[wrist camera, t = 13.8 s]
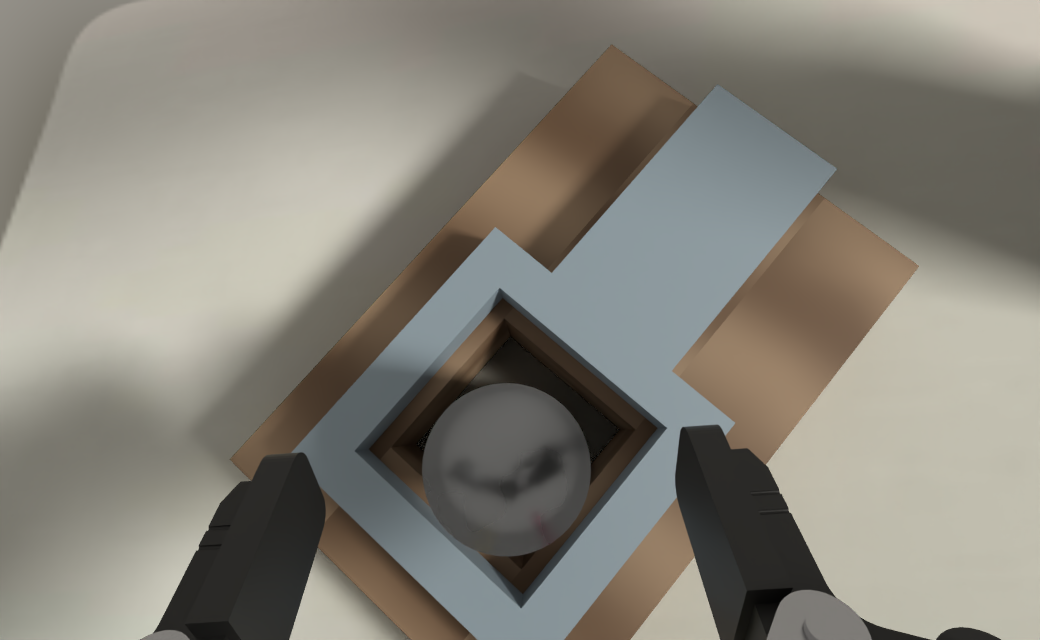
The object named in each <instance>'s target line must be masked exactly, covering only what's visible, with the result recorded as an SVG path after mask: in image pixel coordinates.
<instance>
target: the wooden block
mask: <svg viewBox="0 0 1040 640" xmlns="http://www.w3.org/2000/svg"><path fill="white" fill-rule="evenodd" d="M697 107H698V106H696V105H695V104H694V103H692V102H691V101H689V100H688V99H687V98H685V97H684V96H683V95H681V94H680V93H678V92H677V91H676V90H674V89H673V88H671V87H670V86H669V85H667V84H666V83H664V82H663V81H662V80H660V79H659V78H658V77H656V76H655V75H653V74H652V73H651V72H649V71H648V70H646V69H645V68H644V67H642V66H641V65H640V64H638V63H637V62H635V61H634V60H633V59H631V58H630V57H628V56H627V55H626V54H624V53H623V52H621V51H620V50H619V49H617V48H616V47H615V46H613V45H611V46H610V47H609V48H608V49H607V50H606V51H605V52H604V53H603V54H602V55H601V57H600V58H599V59H598V60H597V61H596V62H595V63H594V64H593V65H592V66H591V67H590V69H589V70H588V71H587V72H586V73H585V74H584V75H583V76H582V77H581V78H580V79H579V80H578V82H577V83H576V84H575V85H574V86H573V87H572V88H571V89H570V90H569V91H568V92H567V94H566V95H565V96H564V97H563V98H562V99H561V100H560V101H559V102H558V103H557V104H556V105H555V107H554V108H553V109H552V110H551V111H550V112H549V113H548V114H547V115H546V116H545V117H544V119H543V120H542V121H541V122H540V123H539V124H538V125H537V126H536V127H535V128H534V129H533V130H532V132H531V133H530V134H529V135H528V136H527V137H526V138H525V139H524V140H523V141H522V142H521V143H520V145H519V146H518V147H517V148H516V149H515V150H514V151H513V152H512V153H511V154H510V155H509V157H508V158H507V159H506V160H505V161H504V162H503V163H502V164H501V165H500V166H499V167H498V168H497V170H496V171H495V172H494V173H493V174H492V175H491V176H490V177H489V178H488V179H487V180H486V182H485V183H484V184H483V185H482V186H481V187H480V188H479V189H478V190H477V191H476V192H475V193H474V195H473V196H472V197H471V198H470V199H469V200H468V201H467V202H466V203H465V204H464V205H463V207H462V208H461V209H460V210H459V211H458V212H457V213H456V214H455V215H454V216H453V217H452V218H451V220H450V221H449V222H448V223H447V224H446V225H445V226H444V227H443V228H442V229H441V230H440V232H439V233H438V234H437V235H436V236H435V237H434V238H433V239H432V240H431V241H430V242H429V243H428V245H427V246H426V247H425V248H424V249H423V250H422V251H421V252H420V253H419V254H418V255H417V257H416V258H415V259H414V260H413V261H412V262H411V263H410V264H409V265H408V266H407V267H406V268H405V270H404V271H403V272H402V273H401V274H400V275H399V276H398V277H397V278H396V279H395V280H394V282H393V283H392V284H391V285H390V286H389V287H388V288H387V289H386V290H385V291H384V292H383V293H382V295H381V296H380V297H379V298H378V299H377V300H376V301H375V302H374V303H373V304H372V305H371V307H370V308H369V309H368V310H367V311H366V312H365V313H364V314H363V315H362V316H361V317H360V318H359V320H358V321H357V322H356V323H355V324H354V325H353V326H352V327H351V328H350V329H349V330H348V332H347V333H346V334H345V335H344V336H343V337H342V338H341V339H340V340H339V341H338V342H337V343H336V345H335V346H334V347H333V348H332V349H331V350H330V351H329V352H328V353H327V354H326V355H325V357H324V358H323V359H322V360H321V361H320V362H319V363H318V364H317V365H316V366H315V367H314V368H313V370H312V371H311V372H310V373H309V374H308V375H307V376H306V377H305V378H304V379H303V380H302V381H301V383H300V384H299V385H298V386H297V387H296V388H295V389H294V390H293V391H292V392H291V393H290V395H289V396H288V397H287V398H286V399H285V400H284V401H283V402H282V403H281V404H280V405H279V406H278V408H277V409H276V410H275V411H274V412H273V413H272V414H271V415H270V416H269V417H268V418H267V420H266V421H265V422H264V423H263V424H262V425H261V426H260V427H259V428H258V429H257V430H256V431H255V433H254V434H253V435H252V436H251V437H250V438H249V439H248V440H247V441H246V442H245V443H244V445H243V446H242V447H241V448H240V449H239V450H238V451H237V452H236V453H235V454H234V455H233V456H232V458H231V459H230V460H231V461H232V462H233V463H234V464H235V465H236V466H237V467H238V468H239V469H240V470H241V471H242V472H243V473H244V474H245V475H246V476H247V477H248V478H249V479H250V480H251V481H252V479H253V477H254V475H255V472H256V470H257V468H258V466H259V464H260V462H261V460H262V459H263V457H265V456H266V455H271V454H285V453H291V452H292V451H293V450H294V449H295V448H296V447H297V446H298V445H299V443H300V442H301V441H302V440H303V439H304V438H305V437H306V436H307V435H308V434H309V432H310V431H311V430H312V429H313V428H314V427H315V426H316V425H317V424H318V422H319V421H320V420H321V419H322V418H323V417H324V416H325V415H326V414H327V413H328V411H329V410H330V409H331V408H332V407H333V406H334V405H335V404H336V403H337V402H338V400H339V399H340V398H341V397H342V396H343V395H344V394H345V393H346V392H347V390H348V389H349V388H350V387H351V386H352V385H353V384H354V383H355V382H356V381H357V379H358V378H359V377H360V376H361V375H362V374H363V373H364V372H365V371H366V369H367V368H368V367H369V366H370V365H371V364H372V363H373V362H374V361H375V360H376V358H377V357H378V356H379V355H380V354H381V353H382V352H383V351H384V350H385V348H386V347H387V346H388V345H389V344H390V343H391V342H392V341H393V340H394V339H395V337H396V336H397V335H398V334H399V333H400V332H401V331H402V330H403V329H404V327H405V326H406V325H407V324H408V323H409V322H410V321H411V320H412V319H413V318H414V316H415V315H416V314H417V313H418V312H419V311H420V310H421V309H422V308H423V306H424V305H425V304H426V303H427V302H428V301H429V300H430V299H431V298H432V297H433V295H434V294H435V293H436V292H437V291H438V290H439V289H440V288H441V287H442V286H443V284H444V283H445V282H446V281H447V280H448V279H449V278H450V277H451V276H452V274H453V273H454V272H455V271H456V270H457V269H458V268H459V267H460V266H461V265H462V263H463V262H464V261H465V260H466V259H467V258H468V257H469V256H470V255H471V253H472V252H473V251H474V250H475V249H476V248H477V247H478V246H479V245H480V244H481V242H482V241H483V240H484V239H485V238H486V237H487V236H488V235H489V234H490V232H491V231H492V230H493V229H494V228H495V227H496V228H497V229H498V230H500V231H501V232H502V233H503V234H505V235H506V236H507V237H508V238H509V239H511V240H512V241H513V242H514V243H516V244H517V245H518V246H519V247H521V248H522V249H523V250H524V251H525V252H527V253H528V254H529V255H530V256H532V257H533V258H534V259H535V260H536V261H538V262H539V263H540V264H541V265H543V266H544V267H545V268H546V269H547V270H549V271H550V272H551V273H552V272H553V271H554V270H555V269H556V268H557V267H558V265H559V264H560V263H561V262H562V261H563V260H564V259H565V257H566V256H567V255H568V254H569V253H570V252H571V251H572V249H573V248H574V247H575V246H576V245H577V244H578V243H579V241H580V240H581V239H582V238H583V237H584V236H585V235H586V233H587V232H588V231H589V230H590V229H591V228H592V227H593V226H594V224H595V223H596V222H597V221H598V220H599V219H600V218H601V216H602V215H603V214H604V213H605V212H606V211H607V210H608V208H609V207H610V206H611V205H612V204H613V203H614V202H615V200H616V199H617V198H618V197H619V196H620V195H621V194H622V192H623V191H624V190H625V189H626V188H627V187H628V186H629V184H630V183H631V182H632V181H633V180H634V179H635V178H636V176H637V175H638V174H639V173H640V172H641V171H642V170H643V169H644V167H645V166H646V165H647V164H648V163H649V162H650V161H651V159H652V158H653V157H654V156H655V155H656V154H657V153H658V151H659V150H660V149H661V148H662V147H663V146H664V145H665V143H666V142H667V141H668V140H669V139H670V138H671V137H672V135H673V134H674V133H675V132H676V131H677V130H678V129H679V127H680V126H681V125H682V124H683V123H684V122H685V121H686V119H687V118H688V117H689V116H690V115H691V114H692V113H693V112H694V110H695V109H696V108H697ZM918 267H919V266H918V265H917V264H916V263H914V262H913V261H911V260H910V259H909V258H907V257H906V256H905V255H903V254H902V253H900V252H899V251H898V250H896V249H895V248H893V247H892V246H891V245H889V244H888V243H886V242H885V241H884V240H882V239H881V238H880V237H878V236H877V235H875V234H874V233H873V232H871V231H870V230H868V229H867V228H866V227H864V226H863V225H862V224H860V223H859V222H857V221H856V220H855V219H853V218H852V217H850V216H849V215H848V214H846V213H845V212H843V211H842V210H841V209H839V208H838V207H837V206H835V205H834V204H832V203H831V202H830V201H828V200H827V199H825V198H824V197H823V196H821V195H820V194H818V193H817V194H816V196H815V197H814V198H813V199H812V200H811V202H810V203H809V204H808V205H807V207H806V208H805V209H804V210H803V211H802V213H801V214H800V215H799V216H798V217H797V219H796V220H795V221H794V222H793V224H792V225H791V226H790V227H789V228H788V230H787V231H786V232H785V233H784V235H783V236H782V237H781V238H780V239H779V241H778V242H777V243H776V244H775V246H774V247H773V248H772V249H771V250H770V252H769V253H768V254H767V255H766V257H765V258H764V259H763V260H762V261H761V263H760V264H759V265H758V266H757V267H756V269H755V270H754V271H753V272H752V274H751V275H750V276H749V277H748V278H747V280H746V281H745V282H744V283H743V285H742V286H741V287H740V288H739V289H738V291H737V292H736V293H735V294H734V296H733V297H732V298H731V299H730V300H729V302H728V303H727V304H726V305H725V307H724V308H723V309H722V310H721V311H720V313H719V314H718V315H717V316H716V317H715V319H714V320H713V321H712V322H711V324H710V325H709V326H708V327H707V328H706V330H705V331H704V332H703V333H702V335H701V336H700V337H699V338H698V339H697V341H696V342H695V343H694V344H693V346H692V347H691V348H690V349H689V350H688V352H687V353H686V354H685V355H684V357H683V358H682V359H681V360H680V361H679V363H678V364H677V365H676V366H675V367H674V369H673V370H672V372H674V373H675V374H676V375H677V376H678V377H680V378H681V379H682V380H683V381H685V382H686V383H687V384H688V385H689V386H691V387H692V388H693V389H694V390H696V391H697V392H698V393H699V394H701V395H702V396H703V397H704V398H705V399H707V400H708V401H709V402H710V403H712V404H713V405H714V406H715V407H716V408H718V409H719V410H720V411H721V412H723V413H724V414H725V415H726V416H727V417H729V418H730V419H731V420H732V421H734V422H735V424H734V426H733V427H732V428H731V429H730V431H729V432H728V433H727V434H726V436H725V437H726V439H727V441H728V443H729V445H730V448H731V449H743V448H748V449H749V450H750V451H751V452H752V453H754V454H755V455H756V456H757V457H758V458H759V459H760V460H761V461H762V462H763V463H764V464H765V465H766V463H767V462H768V461H769V460H770V458H771V457H772V456H773V454H774V453H775V452H776V451H777V449H778V448H779V447H780V445H781V444H782V443H783V441H784V440H785V439H786V438H787V436H788V435H789V434H790V432H791V431H792V430H793V429H794V427H795V426H796V425H797V423H798V422H799V421H800V420H801V418H802V417H803V416H804V414H805V413H806V412H807V410H808V409H809V408H810V407H811V405H812V404H813V403H814V401H815V400H816V399H817V398H818V396H819V395H820V394H821V392H822V391H823V390H824V388H825V387H826V386H827V385H828V383H829V382H830V381H831V379H832V378H833V377H834V376H835V374H836V373H837V372H838V370H839V369H840V368H841V367H842V365H843V364H844V363H845V361H846V360H847V359H848V357H849V356H850V355H851V354H852V352H853V351H854V350H855V348H856V347H857V346H858V345H859V343H860V342H861V341H862V339H863V338H864V337H865V336H866V334H867V333H868V332H869V330H870V329H871V328H872V326H873V325H874V324H875V323H876V321H877V320H878V319H879V317H880V316H881V315H882V314H883V312H884V311H885V310H886V308H887V307H888V306H889V304H890V303H891V302H892V301H893V299H894V298H895V297H896V295H897V294H898V293H899V292H900V290H901V289H902V288H903V286H904V285H905V284H906V283H907V281H908V280H909V279H910V277H911V276H912V275H913V273H914V272H915V271H916V270H917V268H918ZM510 336H511V337H512V338H513V339H514V340H516V341H517V342H518V343H519V344H520V345H521V346H523V347H524V348H525V349H526V350H527V351H528V352H530V353H531V354H532V355H533V356H534V357H535V358H537V359H538V360H539V361H540V362H541V363H543V364H544V365H545V366H546V367H547V368H548V369H550V370H551V371H552V372H553V373H554V374H555V375H557V376H558V377H559V378H560V379H561V380H563V381H564V382H565V383H566V384H567V385H568V386H570V387H571V388H572V389H573V390H574V391H575V392H577V393H578V394H579V395H580V396H581V397H582V398H584V399H585V400H586V401H587V402H588V403H590V404H591V405H592V406H593V407H594V408H595V409H597V410H598V411H599V412H600V413H601V414H602V415H604V416H605V417H606V418H607V419H608V420H609V421H611V422H612V423H613V424H614V425H615V426H617V427H618V428H619V429H620V430H619V431H618V432H617V434H616V435H615V436H614V437H613V438H612V440H611V441H610V442H609V443H608V444H607V446H606V447H605V448H604V449H603V451H602V452H601V453H600V454H599V455H598V457H597V458H596V459H595V460H594V462H593V463H592V464H591V478H590V485H589V490H588V494H587V497H586V500H585V502H584V505H583V507H582V510H581V511H580V513H579V515H578V516H577V518H576V520H575V521H574V522H573V524H572V525H571V526H570V527H569V529H568V530H567V531H566V532H565V533H564V534H563V535H562V536H560V537H559V538H558V539H556V540H555V541H554V542H552V543H551V544H549V545H547V546H546V547H544V548H542V549H540V550H537V551H535V552H532V553H528V554H524V555H520V556H510V557H507V556H494V555H488V554H484V553H481V552H478V551H477V552H478V553H479V554H481V555H482V556H483V557H484V558H485V559H486V560H487V561H488V562H489V563H490V564H491V565H492V566H493V567H494V568H495V569H496V570H498V571H499V572H500V573H501V574H502V575H503V576H504V577H505V578H506V579H507V580H508V581H509V582H510V583H511V584H512V585H514V586H515V587H516V588H517V589H518V590H519V591H520V592H521V593H522V594H523V593H524V592H525V591H526V590H527V589H528V587H529V586H530V585H531V584H532V582H533V581H534V580H535V579H536V577H537V576H538V575H539V574H540V573H541V571H542V570H543V569H544V568H545V566H546V565H547V564H548V563H549V561H550V560H551V559H552V558H553V556H554V555H555V554H556V553H557V552H558V550H559V549H560V548H561V547H562V545H563V544H564V543H565V542H566V540H567V539H568V538H569V537H570V536H571V534H572V533H573V532H574V531H575V529H576V528H577V527H578V526H579V524H580V523H581V522H582V521H583V519H584V518H585V517H586V516H587V515H588V513H589V512H590V511H591V510H592V508H593V507H594V506H595V505H596V503H597V502H598V501H599V500H600V499H601V497H602V496H603V495H604V494H605V492H606V491H607V490H608V489H609V487H610V486H611V485H612V484H613V482H614V481H615V480H616V479H617V478H618V476H619V475H620V474H621V473H622V471H623V470H624V469H625V468H626V466H627V465H628V464H629V463H630V462H631V460H632V459H633V458H634V457H635V455H636V454H637V453H638V452H639V450H640V449H641V448H642V447H643V446H644V444H645V443H646V442H647V441H648V439H649V438H650V437H651V436H652V434H653V433H654V432H655V431H656V429H657V427H656V426H655V425H653V424H652V423H651V422H650V421H649V420H647V419H646V418H645V417H644V416H643V415H641V414H640V413H639V412H638V411H637V410H636V409H634V408H633V407H632V406H631V405H630V404H628V403H627V402H626V401H625V400H624V399H622V398H621V397H620V396H619V395H618V394H616V393H615V392H614V391H613V390H612V389H611V388H609V387H608V386H607V385H606V384H605V383H603V382H602V381H601V380H600V379H599V378H597V377H596V376H595V375H594V374H593V373H591V372H590V371H589V370H588V369H587V368H586V367H584V366H583V365H582V364H581V363H580V362H578V361H577V360H576V359H575V358H574V357H572V356H571V355H570V354H569V353H568V352H566V351H565V350H564V349H563V348H562V347H561V346H559V345H558V344H557V343H556V342H555V341H553V340H552V339H551V338H550V337H549V336H547V335H546V334H545V333H544V332H543V331H541V330H540V329H539V328H538V327H537V326H536V325H534V324H533V323H532V322H531V321H530V320H528V319H527V318H526V317H525V316H524V315H522V314H521V313H520V312H519V311H518V310H516V309H515V308H514V307H513V306H512V305H511V304H509V303H508V302H507V301H506V300H505V299H503V298H502V299H501V300H500V301H499V302H498V304H497V305H496V306H495V307H494V308H493V309H492V310H491V312H490V313H489V314H488V315H487V316H486V317H485V318H484V319H483V321H482V322H481V323H480V324H479V325H478V326H477V327H476V328H475V330H474V331H473V332H472V333H471V334H470V335H469V336H468V338H467V339H466V340H465V341H464V342H463V343H462V344H461V345H460V347H459V348H458V349H457V350H456V351H455V352H454V353H453V354H452V356H451V357H450V358H449V359H448V360H447V361H446V362H445V364H444V365H443V366H442V367H441V368H440V369H439V370H438V371H437V373H436V374H435V375H434V376H433V377H432V378H431V379H430V380H429V382H428V383H427V384H426V385H425V386H424V387H423V388H422V390H421V391H420V392H419V393H418V394H417V395H416V396H415V397H414V399H413V400H412V401H411V402H410V403H409V404H408V405H407V406H406V408H405V409H404V410H403V411H402V412H401V413H400V414H399V415H398V417H397V418H396V419H395V420H394V421H393V422H392V423H391V425H390V426H389V427H388V428H387V429H386V430H385V431H384V432H383V434H382V435H381V436H380V437H379V438H378V439H377V440H376V441H375V443H374V444H373V445H372V446H371V447H370V448H369V450H370V451H371V452H372V453H373V454H374V455H375V456H376V457H377V458H378V459H379V460H380V461H382V462H383V463H384V464H385V465H386V466H387V467H388V468H389V469H390V470H391V471H392V472H393V473H394V474H395V475H396V476H398V477H399V478H400V479H401V480H402V481H403V482H404V483H405V484H406V485H407V486H408V487H409V488H410V489H411V490H412V491H413V492H415V493H416V494H417V495H418V496H419V497H420V498H421V499H422V500H423V501H424V502H425V503H426V504H427V505H428V506H429V507H430V505H429V503H428V500H427V497H426V494H425V490H424V485H423V476H422V464H423V455H424V451H423V450H421V449H420V448H419V447H418V446H417V445H416V444H417V443H418V441H419V440H420V439H421V438H422V437H423V436H424V434H425V433H426V432H427V431H428V430H429V429H430V428H431V426H432V425H433V424H434V423H435V422H436V421H437V420H438V418H439V417H440V416H441V415H442V414H443V412H444V411H445V410H446V409H447V408H448V407H449V406H450V405H451V404H452V402H453V401H454V400H455V399H456V398H457V397H458V396H459V394H460V393H461V392H462V391H463V390H464V389H465V388H466V386H467V385H468V384H469V383H470V382H471V381H472V380H473V378H474V377H475V376H476V375H477V374H478V373H479V372H480V370H481V369H482V368H483V367H484V366H485V365H486V363H487V362H488V361H489V360H490V359H491V358H492V357H493V355H494V354H495V353H496V352H497V351H498V350H499V349H500V347H501V346H502V345H503V344H504V343H505V342H506V341H507V339H508V338H509V337H510ZM320 489H321V491H322V494H323V496H324V500H325V506H326V517H325V524H324V528H323V531H322V535H321V538H320V541H319V544H318V548H319V549H320V550H321V551H322V552H323V553H324V554H325V555H326V556H327V557H328V558H329V559H330V560H331V561H332V562H333V563H334V564H335V565H336V566H337V567H338V568H339V569H340V570H341V571H342V572H343V573H344V574H345V575H346V576H347V577H348V578H349V579H350V580H351V581H352V582H353V583H354V584H355V585H356V586H357V587H358V588H359V589H360V590H361V591H362V592H363V593H364V594H365V595H366V596H367V597H368V598H370V599H371V600H372V601H373V602H374V603H375V604H376V605H377V606H378V607H379V608H380V609H381V610H382V611H383V612H384V613H385V614H386V615H387V616H388V617H389V618H390V619H391V620H392V621H393V622H394V623H395V624H396V625H397V626H398V627H399V628H400V629H401V630H402V631H403V632H404V633H405V634H406V635H407V636H408V637H409V638H410V639H411V640H477V639H476V638H475V637H474V636H473V635H472V634H471V633H470V632H469V631H468V630H467V629H466V628H465V627H464V626H463V625H462V624H461V623H460V622H459V621H458V620H457V619H456V618H455V617H454V616H453V615H452V614H450V613H449V612H448V611H447V610H446V609H445V608H444V607H443V606H442V605H441V604H440V603H439V602H438V601H437V600H436V599H435V598H434V597H433V596H432V595H431V594H430V593H429V592H428V591H427V590H426V589H425V588H424V587H423V586H422V585H421V584H420V583H419V582H418V581H417V580H415V579H414V578H413V577H412V576H411V575H410V574H409V573H408V572H407V571H406V570H405V569H404V568H403V567H402V566H401V565H400V564H399V563H398V562H397V561H396V560H395V559H394V558H393V557H392V556H391V555H390V554H389V553H388V552H387V551H386V550H385V549H384V548H383V547H382V546H380V545H379V544H378V543H377V542H376V541H375V540H374V539H373V538H372V537H371V536H370V535H369V534H368V533H367V532H366V531H365V530H364V529H363V528H362V527H361V526H360V525H359V524H358V523H357V522H356V521H355V520H354V519H353V518H352V517H351V516H350V515H349V514H348V513H347V512H346V511H344V510H343V509H342V508H341V507H340V506H339V505H338V504H337V503H336V502H335V501H334V500H333V499H332V498H331V497H330V496H329V495H328V494H327V493H326V492H325V491H324V490H323V489H322V488H321V487H320ZM693 558H694V552H693V549H692V546H691V543H690V540H689V536H688V533H687V530H686V527H685V523H684V520H683V517H682V514H681V510H680V507H679V504H678V500H677V498H676V499H675V500H674V501H673V503H672V504H671V505H670V506H669V508H668V509H667V510H666V512H665V513H664V514H663V515H662V517H661V518H660V519H659V520H658V522H657V523H656V524H655V525H654V527H653V528H652V529H651V531H650V532H649V533H648V534H647V536H646V537H645V538H644V539H643V541H642V542H641V543H640V544H639V546H638V547H637V548H636V549H635V551H634V552H633V553H632V555H631V556H630V557H629V558H628V560H627V561H626V562H625V563H624V565H623V566H622V567H621V568H620V570H619V571H618V572H617V574H616V575H615V576H614V577H613V579H612V580H611V581H610V582H609V584H608V585H607V586H606V587H605V589H604V590H603V591H602V592H601V594H600V595H599V596H598V598H597V599H596V600H595V601H594V603H593V604H592V605H591V606H590V608H589V609H588V610H587V611H586V613H585V614H584V615H583V617H582V618H581V619H580V620H579V622H578V623H577V624H576V625H575V627H574V628H573V629H572V630H571V632H570V633H569V634H568V635H567V637H566V638H565V639H564V640H630V639H631V638H632V637H633V635H634V634H635V633H636V631H637V630H638V629H639V628H640V626H641V625H642V624H643V622H644V621H645V620H646V619H647V617H648V616H649V615H650V613H651V612H652V611H653V609H654V608H655V607H656V606H657V604H658V603H659V602H660V600H661V599H662V598H663V597H664V595H665V594H666V593H667V591H668V590H669V589H670V588H671V586H672V585H673V584H674V582H675V581H676V580H677V578H678V577H679V576H680V575H681V573H682V572H683V571H684V569H685V568H686V567H687V566H688V564H689V563H690V562H691V560H692V559H693Z"/></svg>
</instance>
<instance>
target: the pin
mask: <svg viewBox="0 0 1040 640" xmlns="http://www.w3.org/2000/svg"><path fill="white" fill-rule="evenodd" d="M422 476H423V485H424V490H425V494H426V497H427V500H428V503H429V505H430V507H431V509H432V511H433V513H434V515H435V517H436V518H437V520H438V521H439V523H440V524H441V525H442V526H443V527H444V528H445V530H446V531H447V532H448V533H449V534H450V535H452V536H453V537H454V538H455V539H456V540H458V541H459V542H461V543H462V544H464V545H465V546H467V547H469V548H471V549H473V550H475V551H478V552H481V553H484V554H488V555H494V556H507V557H510V556H520V555H524V554H528V553H532V552H535V551H537V550H540V549H542V548H544V547H546V546H547V545H549V544H551V543H552V542H554V541H555V540H556V539H558V538H559V537H560V536H562V535H563V534H564V533H565V532H566V531H567V530H568V529H569V527H570V526H571V525H572V524H573V522H574V521H575V520H576V518H577V516H578V515H579V513H580V511H581V510H582V507H583V505H584V502H585V500H586V497H587V494H588V490H589V485H590V478H591V462H590V454H589V450H588V446H587V442H586V440H585V437H584V434H583V432H582V430H581V428H580V426H579V425H578V423H577V421H576V420H575V419H574V417H573V416H572V414H571V413H570V412H569V411H568V410H567V409H566V408H565V407H564V406H563V405H562V404H561V403H560V402H558V401H557V400H556V399H555V398H553V397H552V396H550V395H548V394H547V393H545V392H543V391H540V390H538V389H536V388H533V387H530V386H526V385H521V384H515V383H500V384H492V385H487V386H483V387H480V388H478V389H475V390H472V391H471V392H469V393H467V394H465V395H463V396H462V397H460V398H459V399H457V400H456V401H455V402H453V403H452V404H451V405H450V406H449V407H448V408H447V409H446V410H445V411H444V412H443V414H442V415H441V416H440V417H439V419H438V420H437V422H436V423H435V425H434V427H433V428H432V431H431V433H430V435H429V437H428V440H427V443H426V446H425V450H424V455H423V464H422Z"/></svg>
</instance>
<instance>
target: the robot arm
mask: <svg viewBox="0 0 1040 640" xmlns="http://www.w3.org/2000/svg"><path fill="white" fill-rule="evenodd" d="M675 487H676V495H677V500H678V504H679V507H680V510H681V514H682V517H683V520H684V523H685V527H686V530H687V533H688V536H689V540H690V543H691V546H692V549H693V552H694V556H695V559H696V562H697V565H698V569H699V572H700V575H701V578H702V582H703V585H704V588H705V591H706V595H707V598H708V601H709V604H710V608H711V611H712V614H713V617H714V620H715V624H716V627H717V630H718V633H719V637H720V640H930V639H926V638H922V637H918V636H914V635H910V634H906V633H902V632H898V631H894V630H890V629H886V628H883V627H880V626H877V625H874V624H872V623H870V622H867V621H866V620H864V619H862V618H860V617H859V616H858V615H857V614H856V613H855V612H854V611H853V610H852V609H851V608H850V607H849V606H848V605H846V604H845V603H843V602H842V601H841V600H839V599H837V598H836V597H835V596H834V594H833V593H832V592H831V590H830V589H829V587H828V586H827V584H826V582H825V580H824V578H823V576H822V574H821V572H820V570H819V568H818V566H817V564H816V562H815V560H814V558H813V556H812V554H811V552H810V550H809V548H808V546H807V544H806V542H805V540H804V538H803V536H802V534H801V532H800V530H799V528H798V526H797V524H796V522H795V520H794V518H793V516H792V514H791V513H789V511H788V506H787V504H786V502H785V500H784V498H783V496H782V494H780V493H779V488H778V486H777V484H776V482H775V480H774V478H773V476H772V474H771V472H770V470H769V468H768V467H767V466H766V465H765V464H764V463H763V462H762V461H761V460H760V459H759V458H758V457H757V456H756V455H755V454H754V453H752V452H751V451H750V450H749V449H748V448H743V449H731V448H730V445H729V443H728V441H727V439H726V437H725V434H724V432H723V430H722V428H721V427H720V426H719V425H718V424H716V425H702V426H688V427H682V428H681V430H680V437H679V445H678V454H677V462H676V471H675ZM325 517H326V506H325V500H324V496H323V494H322V491H321V489H320V486H319V484H318V482H317V479H316V477H315V474H314V472H313V470H312V467H311V465H310V462H309V460H308V458H307V456H306V455H305V454H304V453H303V452H299V453H285V454H271V455H266V456H265V457H263V459H262V460H261V462H260V464H259V466H258V468H257V470H256V472H255V475H254V477H253V479H252V481H246V482H240V483H239V484H238V485H237V486H236V487H235V488H234V489H233V490H232V491H231V492H230V493H229V494H228V496H227V497H226V498H225V499H224V500H223V501H222V502H221V503H220V505H219V507H218V509H217V511H216V513H215V515H214V517H213V519H212V521H211V523H210V525H209V530H208V531H206V532H205V534H204V536H203V538H202V540H201V542H200V544H199V550H198V551H196V552H195V554H194V556H193V558H192V560H191V562H190V564H189V566H188V568H187V570H186V572H185V574H184V576H183V578H182V580H181V582H180V584H179V586H178V588H177V590H176V592H175V594H174V596H173V598H172V600H171V601H170V603H169V605H168V607H167V609H166V611H165V613H164V615H163V617H162V619H161V621H160V623H159V625H158V627H157V628H156V630H155V631H154V633H153V634H150V635H148V636H146V637H144V638H142V639H140V640H289V638H290V635H291V632H292V629H293V625H294V622H295V619H296V616H297V612H298V609H299V606H300V603H301V599H302V596H303V593H304V590H305V586H306V583H307V580H308V577H309V573H310V570H311V567H312V564H313V561H314V557H315V554H316V551H317V548H318V544H319V541H320V538H321V535H322V531H323V528H324V524H325ZM936 640H1001V639H999V638H997V637H995V636H993V635H991V634H989V633H986V632H983V631H980V630H977V629H972V628H964V627H959V628H952V629H949V630H946V631H944V632H943V633H941V634H940V635H939V637H938V638H937V639H936Z"/></svg>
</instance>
